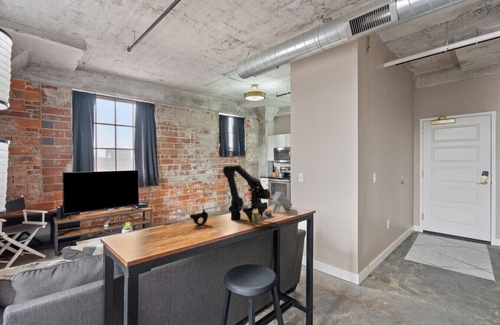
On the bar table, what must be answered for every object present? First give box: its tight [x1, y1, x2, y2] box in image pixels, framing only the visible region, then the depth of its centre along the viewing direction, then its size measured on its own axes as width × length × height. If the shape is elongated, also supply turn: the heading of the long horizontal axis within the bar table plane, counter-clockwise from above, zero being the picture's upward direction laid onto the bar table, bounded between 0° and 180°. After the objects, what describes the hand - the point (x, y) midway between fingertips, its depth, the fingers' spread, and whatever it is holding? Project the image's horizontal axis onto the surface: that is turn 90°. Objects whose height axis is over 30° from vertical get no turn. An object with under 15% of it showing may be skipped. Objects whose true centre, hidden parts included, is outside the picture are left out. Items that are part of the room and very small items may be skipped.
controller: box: [189, 209, 209, 226], centre depth 164 cm, size 4×12×10 cm, turn 122°
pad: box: [261, 215, 270, 221], centre depth 180 cm, size 8×6×1 cm
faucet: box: [271, 191, 293, 214], centre depth 203 cm, size 6×16×20 cm
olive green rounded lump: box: [250, 212, 262, 225], centre depth 169 cm, size 6×4×6 cm, turn 44°
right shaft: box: [263, 209, 273, 218], centre depth 186 cm, size 6×4×5 cm, turn 145°
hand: (255, 220), depth 169 cm, fingers open, 9 cm apart
